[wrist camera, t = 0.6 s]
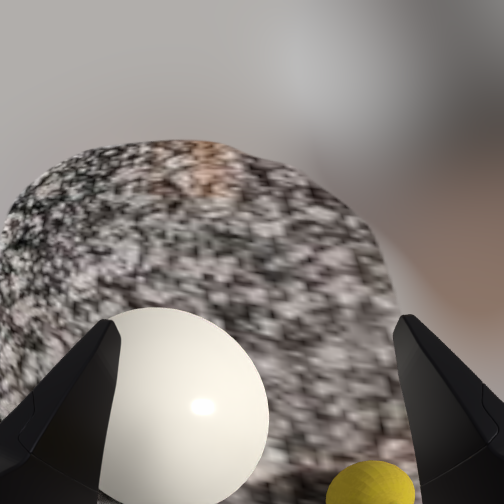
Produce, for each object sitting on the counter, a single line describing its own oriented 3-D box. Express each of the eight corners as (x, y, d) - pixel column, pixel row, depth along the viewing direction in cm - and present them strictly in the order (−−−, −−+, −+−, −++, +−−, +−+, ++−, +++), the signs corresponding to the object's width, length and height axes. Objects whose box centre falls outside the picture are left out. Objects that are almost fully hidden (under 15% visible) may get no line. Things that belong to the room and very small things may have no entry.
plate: (292, 484, 19) (295, 488, 18) (90, 514, 16) (85, 518, 15) (235, 293, 26) (235, 288, 25) (53, 329, 23) (47, 325, 22)
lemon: (310, 520, 17) (346, 557, 10) (316, 457, 20) (356, 473, 13) (376, 512, 17) (430, 537, 10) (382, 452, 20) (440, 458, 13)
